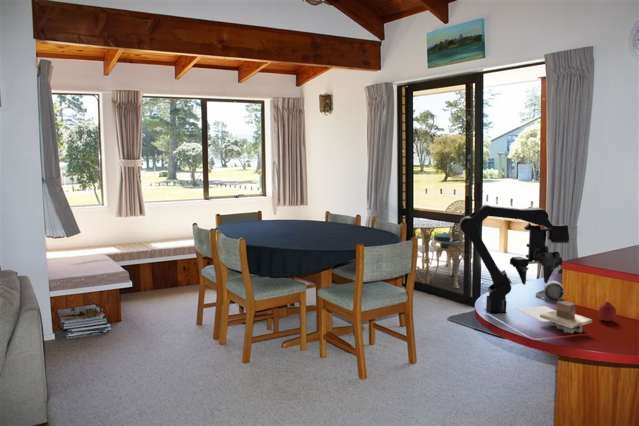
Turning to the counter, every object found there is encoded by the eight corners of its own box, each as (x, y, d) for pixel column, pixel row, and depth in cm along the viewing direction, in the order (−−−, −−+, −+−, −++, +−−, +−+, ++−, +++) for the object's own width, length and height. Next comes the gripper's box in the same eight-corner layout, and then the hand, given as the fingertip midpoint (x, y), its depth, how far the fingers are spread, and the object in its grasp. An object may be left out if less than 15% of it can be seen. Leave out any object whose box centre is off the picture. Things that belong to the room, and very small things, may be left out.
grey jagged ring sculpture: (585, 334, 186) (586, 323, 186) (565, 336, 185) (566, 324, 184) (565, 324, 197) (566, 313, 196) (546, 325, 195) (547, 314, 195)
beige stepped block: (570, 328, 182) (571, 310, 181) (540, 317, 194) (540, 300, 193) (592, 322, 186) (592, 305, 185) (560, 311, 198) (560, 295, 197)
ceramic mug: (561, 297, 230) (562, 279, 229) (564, 302, 222) (564, 283, 221) (534, 295, 233) (535, 277, 232) (535, 300, 226) (536, 282, 225)
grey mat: (542, 323, 197) (542, 321, 197) (516, 309, 212) (516, 308, 212) (573, 320, 200) (573, 319, 200) (545, 307, 215) (545, 306, 215)
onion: (613, 320, 200) (615, 299, 199) (616, 325, 195) (618, 303, 194) (596, 318, 202) (597, 297, 201) (598, 323, 197) (600, 301, 196)
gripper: (528, 247, 192) (525, 291, 194) (574, 245, 197) (571, 287, 199) (509, 241, 203) (507, 283, 205) (553, 239, 208) (551, 280, 210)
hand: (534, 283), depth 204 cm, fingers open, 9 cm apart
